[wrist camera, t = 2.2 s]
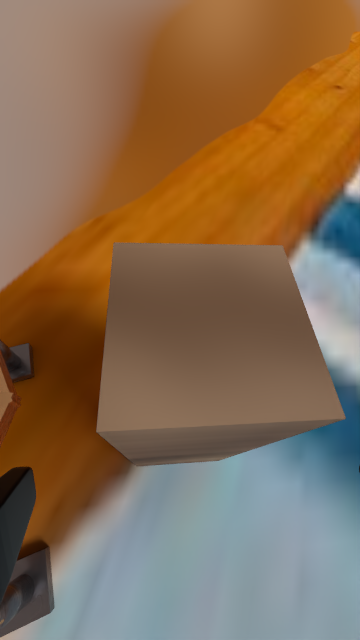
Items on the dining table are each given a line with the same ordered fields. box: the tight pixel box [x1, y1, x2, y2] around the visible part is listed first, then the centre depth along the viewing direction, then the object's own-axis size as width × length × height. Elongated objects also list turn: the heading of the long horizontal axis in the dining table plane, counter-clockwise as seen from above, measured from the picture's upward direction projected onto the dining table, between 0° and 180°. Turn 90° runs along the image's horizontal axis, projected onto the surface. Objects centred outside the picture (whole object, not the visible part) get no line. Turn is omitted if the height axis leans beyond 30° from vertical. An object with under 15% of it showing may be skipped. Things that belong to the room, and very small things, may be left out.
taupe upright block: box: [96, 243, 346, 466], centre depth 12 cm, size 5×5×13 cm
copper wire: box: [0, 340, 54, 637], centre depth 14 cm, size 14×3×4 cm, turn 19°
